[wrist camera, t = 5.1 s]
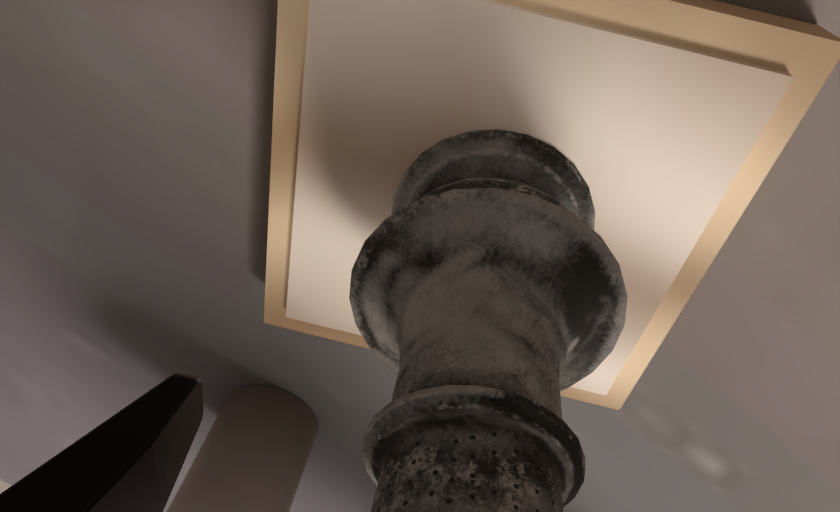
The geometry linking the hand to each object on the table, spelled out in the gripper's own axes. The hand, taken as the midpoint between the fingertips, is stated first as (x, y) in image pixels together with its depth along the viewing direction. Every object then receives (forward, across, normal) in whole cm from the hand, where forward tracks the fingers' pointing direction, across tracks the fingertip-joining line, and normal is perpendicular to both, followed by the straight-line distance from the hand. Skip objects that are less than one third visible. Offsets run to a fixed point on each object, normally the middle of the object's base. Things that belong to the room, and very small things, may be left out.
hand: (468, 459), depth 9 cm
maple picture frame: (+9, 0, 0) cm, 9 cm away
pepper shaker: (+9, +6, +13) cm, 17 cm away
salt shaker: (+8, 0, 0) cm, 8 cm away
